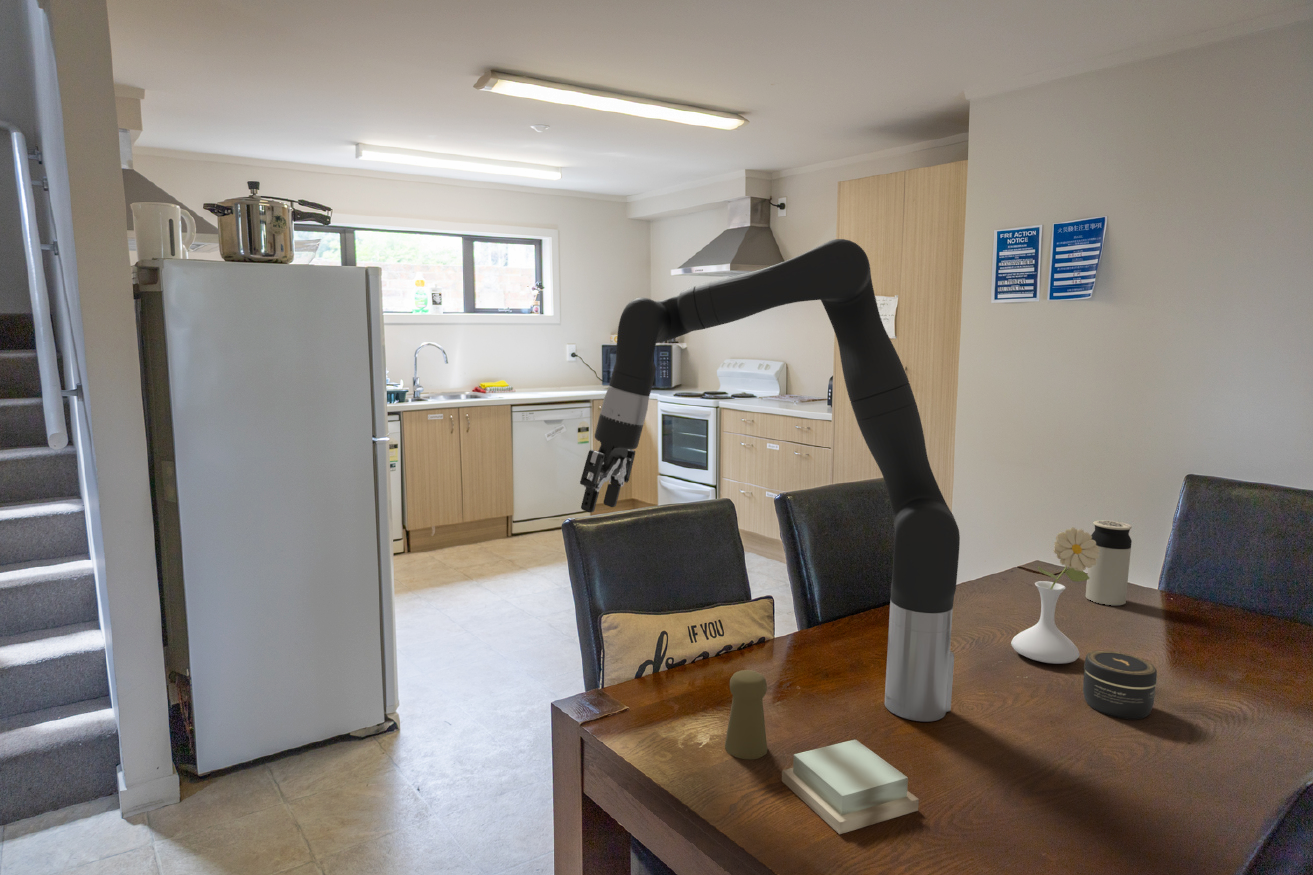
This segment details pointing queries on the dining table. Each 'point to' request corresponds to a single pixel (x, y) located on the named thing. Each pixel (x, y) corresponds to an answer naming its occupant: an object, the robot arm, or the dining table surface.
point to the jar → (1119, 684)
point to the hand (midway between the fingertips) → (598, 508)
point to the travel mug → (1110, 563)
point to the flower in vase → (1045, 636)
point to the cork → (747, 716)
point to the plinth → (849, 786)
